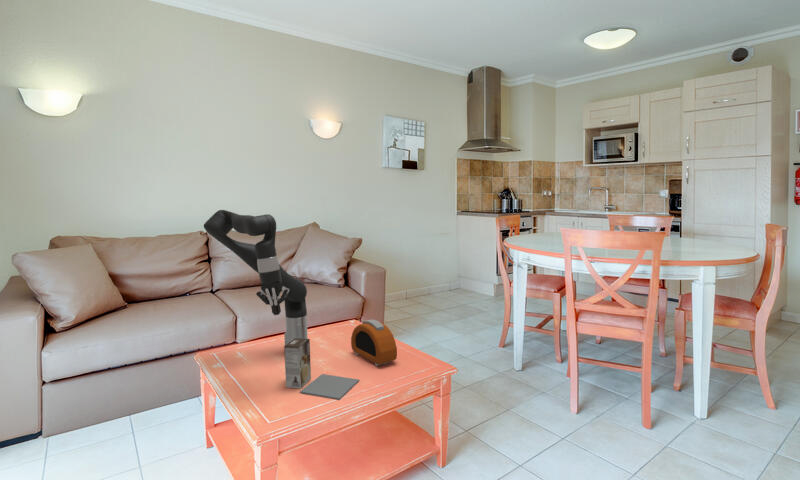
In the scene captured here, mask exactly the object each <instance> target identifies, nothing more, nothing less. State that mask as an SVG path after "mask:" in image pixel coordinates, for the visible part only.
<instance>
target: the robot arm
mask: <svg viewBox="0 0 800 480" xmlns="http://www.w3.org/2000/svg"><path fill="white" fill-rule="evenodd" d="M203 228H204V230H205V231H206V232H207V233H208V234H209V236H211V237H212V238H214V239H215V240H216V241H218V242H219V243H221V244H222V245H223V246H225V247H226V248H228V249H229V250H230V251H231V252H232V253H234V254H235V255H236V256H237V257H239V258H240V259H241V260H242V261H243V262H244V263H245V264H247V266H249V267H250V268H251V269H252V270H253V271H255V272H256V273H258V275H259V276H258V277H259V281H260V284H261V285H260V289H259V291H257V292H256V296H257V297H258V298H259V299H260V300H261V301H262V302H263V303H264V304H265V305H269V306H270V308H271V313H272V314H273V316H278V315H280V314H281V312H282V311H281V304H282V303H284V311H285V312H284V314H285V332H284V333H283V334H284V346H285V345H286V344H288V343H289V342H290V341H292V340H293V339H294V338H302V339H309V338H308V313H307V302H306V297H307V293H308V290H307V287H306V286H307V285H305V283H304V282H303V281H302V280H301V279H298V278H295V277H293V276H292V275H291V274H289V273H288V272H287V271H286V270H285V269H284V268H283V267H282V266H281V264H280V263H279V258H278V256H277V250H276V235H277V233H276V232H277V221H276V219H275V217H274V216H273V215H271V214H262V215H255V216H254V215H249V214H247V215H246V214H244V215H243V214H239V213H236V212H233V211H230V210H229V211H228V210H225V209H219V210H217V211H216V212H215V213H213V214H212V216H210V217H209V219H207V220H206V221H205V222H204V223H203ZM233 229H234V231H235V232H236V233H239V234H245V235H246V234H247V235H248V236H251V237H257V236H263V239H262V240H260V241H258V242H257V243H255V244H253V243H249V242H248V243H247V242H241V241H237V240H235V239H233V238H231V237H229V235H228V234H229V233H230V232H231V231H232V230H233ZM281 293H282V294H281Z"/></svg>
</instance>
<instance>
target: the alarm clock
mask: <svg viewBox="0 0 800 480" xmlns="http://www.w3.org/2000/svg"><path fill="white" fill-rule="evenodd" d="M350 345H351V346H350V347H351V350H352V351H353V352H354V353H355V355H356V356H359V355H360V356H361V357H364V358H365V359H367V360H369V361H370V362H372V363H374V365H375V366H376V367H378V366H382V365H385V364H388V363H391V362H393V361H395V360H396V359H397V358H398V357H397V356H398V347H397V344H396V340H395V337H394V334H393V333H392V332H391V330H390V328H389V327H388V326H387V325H386V324H384V323H383V322H381V321H378V320H377V319H368V320H367V319H366V320H363V321H362V323H361V324H358V325H356V326H355V327H354V329H353V331H352V333H351V337H350Z"/></svg>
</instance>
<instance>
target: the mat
mask: <svg viewBox="0 0 800 480" xmlns="http://www.w3.org/2000/svg"><path fill="white" fill-rule="evenodd" d="M359 382H360V379H358V378H351V377H343V376H339V375H332V374H331V375H330V374H324V373H322V374H320V375H319V376H318V377H316V378H315V379H314V380H312V381H311V382H310V383H308V385H306V386H305V387H303V388H301V390H300V391H299V393H300V394H304V395H309V396H316V397H322V398H327V399H332V400H339V401H340V400H341V399H343V397H344V396H345V395H347V394H348V393H349V392H350V391H351V389H353V387H355V386H356V385H357V384H358V383H359Z"/></svg>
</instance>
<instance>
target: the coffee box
mask: <svg viewBox="0 0 800 480" xmlns="http://www.w3.org/2000/svg"><path fill="white" fill-rule="evenodd" d="M310 342H311V341H310V338H308V339H302V338H294V339H293V340H292V341H290V342H289V343H288V344H286V345H285V344H284V347H283V348H284V350H283V351H284V366H285V367H284V369H285V370H284V371H285V372H284V373H285V374H284V375H285V388H288V389H289V388H291V389H299V390H300V389H301V390H302V389H303V388H304V386H305V385H306V384H307V383H308V382H309V381H310V380H311V379H312V377H311V376H312V375H311V374H312V372H311V371H312V370H311V369H312V368H311V345H310V344H311V343H310Z"/></svg>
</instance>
